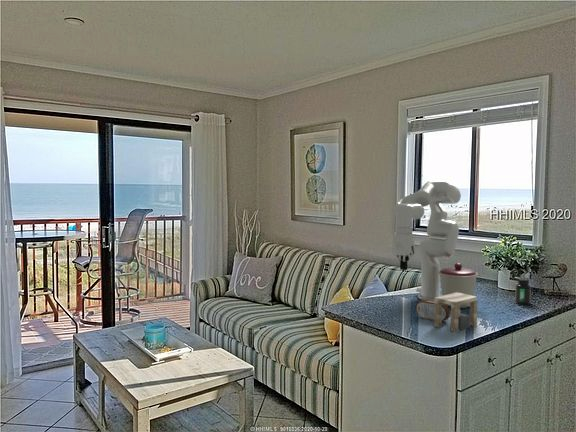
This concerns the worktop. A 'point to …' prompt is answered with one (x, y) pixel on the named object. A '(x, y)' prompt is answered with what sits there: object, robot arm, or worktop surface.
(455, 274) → the canister
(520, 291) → the supplement bottle
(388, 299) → the worktop surface
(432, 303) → the tin
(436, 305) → the small wooden stool
